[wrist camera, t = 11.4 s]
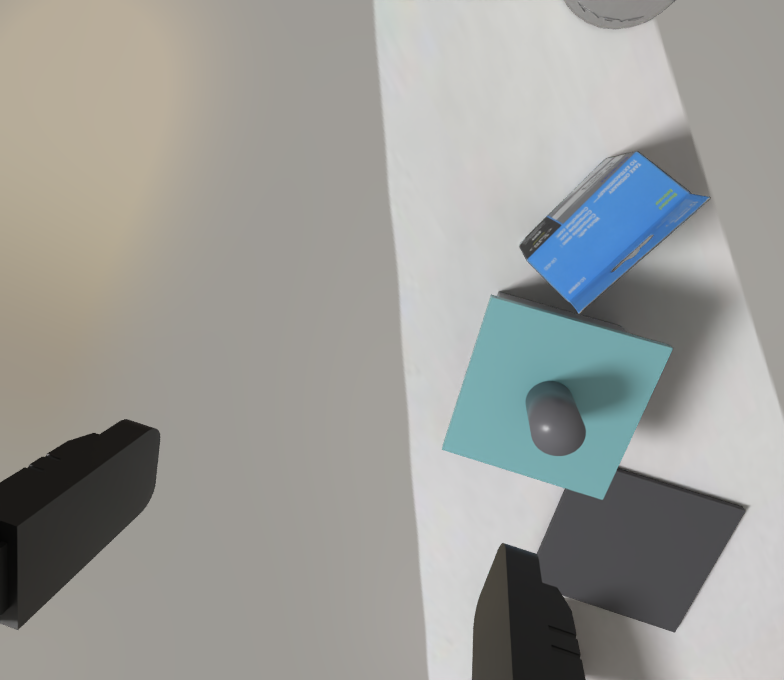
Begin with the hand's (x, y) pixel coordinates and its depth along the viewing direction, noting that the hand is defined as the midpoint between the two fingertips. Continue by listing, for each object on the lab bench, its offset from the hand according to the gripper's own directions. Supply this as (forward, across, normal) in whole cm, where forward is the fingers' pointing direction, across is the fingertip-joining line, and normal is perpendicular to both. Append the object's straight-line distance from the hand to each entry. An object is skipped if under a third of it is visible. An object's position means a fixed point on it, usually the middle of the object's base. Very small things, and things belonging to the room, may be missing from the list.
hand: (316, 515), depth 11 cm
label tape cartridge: (+32, -9, -7) cm, 34 cm away
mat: (+32, -23, +19) cm, 44 cm away
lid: (+25, -10, +5) cm, 27 cm away
